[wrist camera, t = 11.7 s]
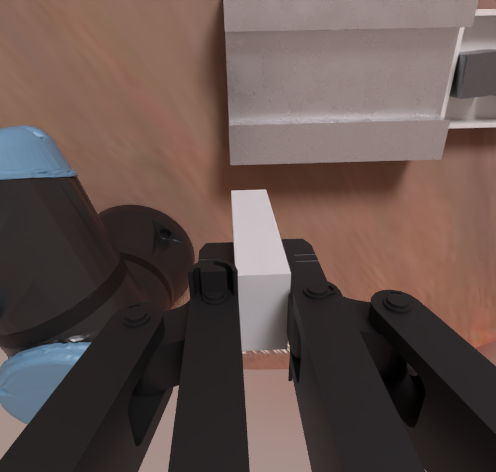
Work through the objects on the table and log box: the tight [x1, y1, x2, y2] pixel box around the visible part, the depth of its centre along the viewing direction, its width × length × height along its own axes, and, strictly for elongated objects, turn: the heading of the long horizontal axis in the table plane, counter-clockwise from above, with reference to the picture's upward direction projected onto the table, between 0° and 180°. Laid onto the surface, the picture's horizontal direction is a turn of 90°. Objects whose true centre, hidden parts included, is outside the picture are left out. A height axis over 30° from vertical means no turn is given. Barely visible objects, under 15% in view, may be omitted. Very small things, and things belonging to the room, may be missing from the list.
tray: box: [441, 9, 496, 129], centre depth 39 cm, size 11×10×3 cm
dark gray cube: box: [449, 49, 496, 99], centre depth 38 cm, size 4×4×4 cm
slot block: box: [223, 0, 478, 165], centre depth 37 cm, size 16×22×6 cm
